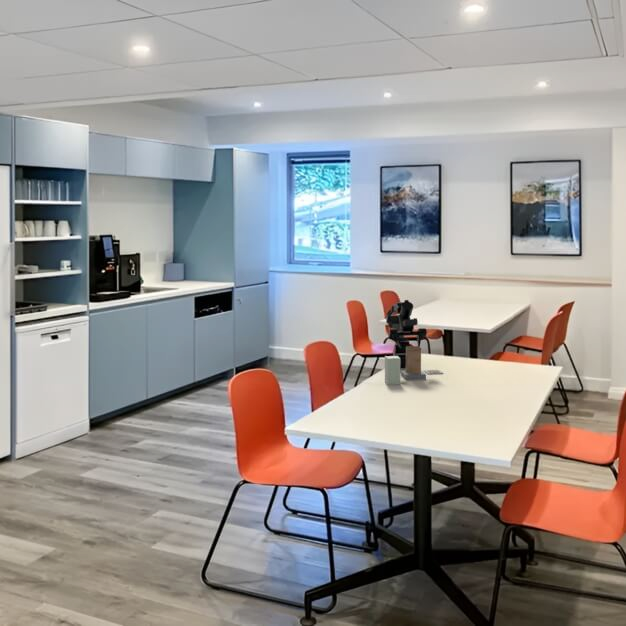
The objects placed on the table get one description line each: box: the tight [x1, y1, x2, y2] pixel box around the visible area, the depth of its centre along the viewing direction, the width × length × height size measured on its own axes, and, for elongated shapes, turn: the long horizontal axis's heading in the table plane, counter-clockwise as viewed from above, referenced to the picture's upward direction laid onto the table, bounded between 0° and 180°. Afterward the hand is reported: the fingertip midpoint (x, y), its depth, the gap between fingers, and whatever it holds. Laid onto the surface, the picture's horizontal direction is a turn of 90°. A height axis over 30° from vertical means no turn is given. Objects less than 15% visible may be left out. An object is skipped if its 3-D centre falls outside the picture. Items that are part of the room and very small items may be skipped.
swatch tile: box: [423, 369, 444, 375], centre depth 376 cm, size 8×8×1 cm
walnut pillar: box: [405, 345, 422, 374], centre depth 363 cm, size 6×6×12 cm
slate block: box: [400, 370, 427, 381], centre depth 364 cm, size 10×10×3 cm
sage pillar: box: [384, 355, 401, 386], centre depth 351 cm, size 6×6×12 cm
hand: (410, 347), depth 370 cm, fingers open, 9 cm apart
